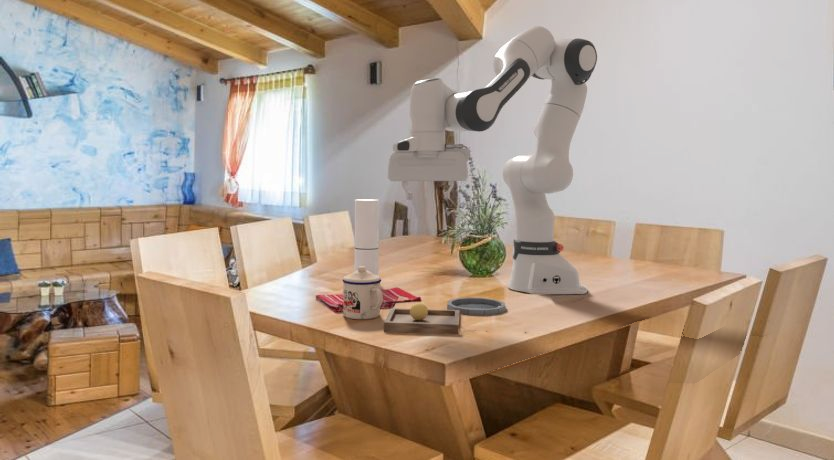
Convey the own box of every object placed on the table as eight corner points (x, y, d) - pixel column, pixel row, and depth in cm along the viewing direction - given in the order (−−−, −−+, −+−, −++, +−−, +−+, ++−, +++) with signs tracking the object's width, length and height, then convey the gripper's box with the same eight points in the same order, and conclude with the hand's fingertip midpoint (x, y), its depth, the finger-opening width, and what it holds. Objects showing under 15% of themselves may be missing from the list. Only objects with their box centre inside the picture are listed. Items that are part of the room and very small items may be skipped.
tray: (459, 318, 153) (459, 310, 153) (458, 334, 139) (458, 324, 139) (391, 316, 154) (391, 308, 154) (383, 331, 140) (384, 322, 140)
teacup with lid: (334, 314, 155) (334, 266, 154) (365, 309, 161) (365, 262, 160) (365, 324, 146) (365, 273, 145) (396, 318, 152) (397, 269, 151)
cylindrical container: (380, 282, 198) (380, 199, 195) (376, 286, 191) (376, 200, 188) (356, 281, 199) (357, 199, 196) (352, 285, 192) (352, 200, 189)
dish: (503, 306, 166) (503, 298, 166) (506, 320, 152) (506, 310, 152) (448, 305, 167) (448, 296, 167) (446, 318, 153) (446, 308, 153)
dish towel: (423, 307, 167) (423, 297, 167) (334, 315, 157) (334, 304, 157) (397, 294, 182) (397, 285, 182) (314, 301, 172) (314, 291, 172)
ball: (431, 312, 148) (422, 297, 148) (430, 317, 144) (421, 301, 144) (416, 321, 149) (407, 306, 148) (414, 325, 145) (405, 310, 144)
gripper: (469, 144, 167) (469, 198, 168) (389, 144, 168) (390, 198, 170) (469, 143, 160) (469, 199, 162) (386, 144, 162) (387, 200, 163)
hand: (428, 199), depth 166 cm, fingers open, 8 cm apart
